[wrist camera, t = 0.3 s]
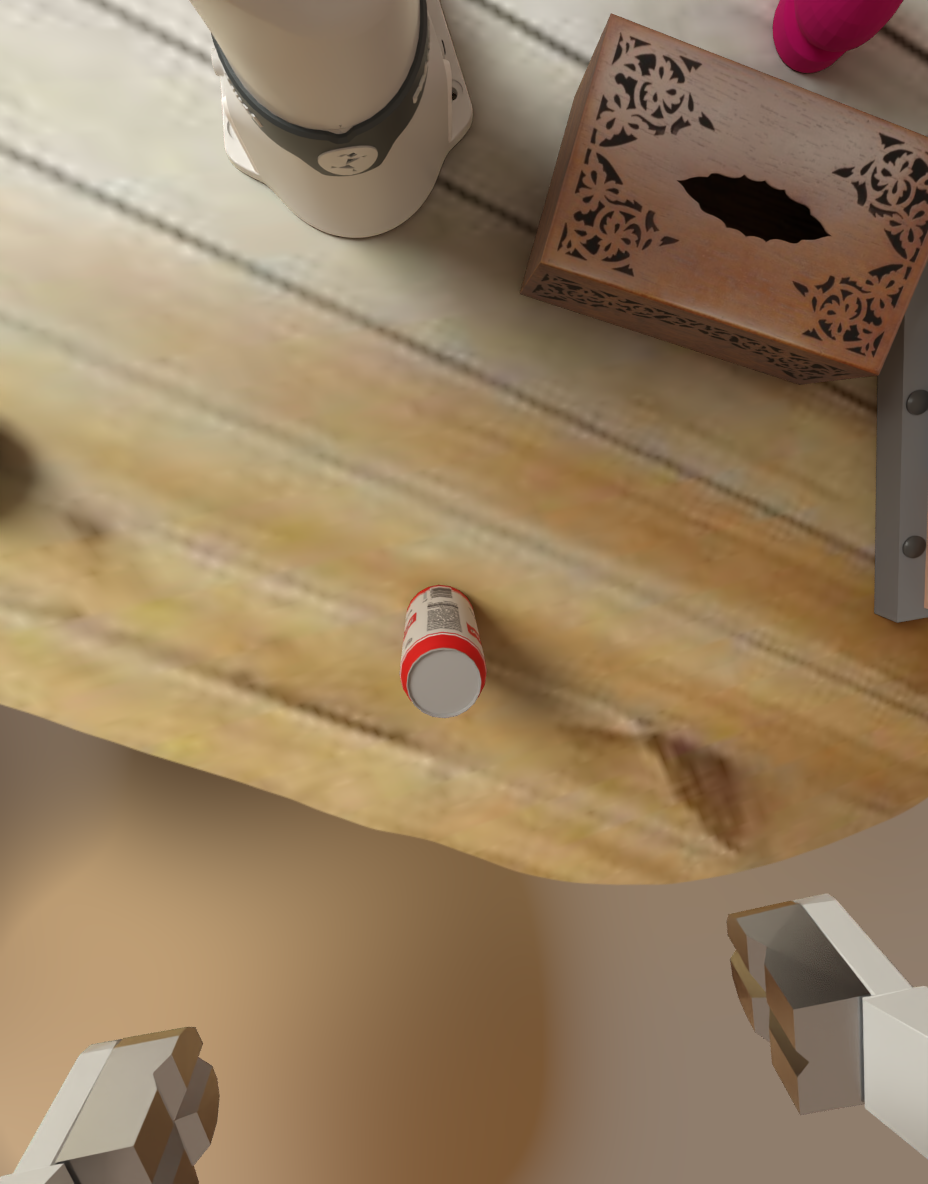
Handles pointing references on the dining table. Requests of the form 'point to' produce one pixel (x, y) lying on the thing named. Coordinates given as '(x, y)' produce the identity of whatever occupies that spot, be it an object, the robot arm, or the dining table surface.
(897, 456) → the gray rocker switch panel
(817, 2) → the pepper mill
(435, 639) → the beer can
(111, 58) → the dining table surface
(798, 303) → the tissue box cover
